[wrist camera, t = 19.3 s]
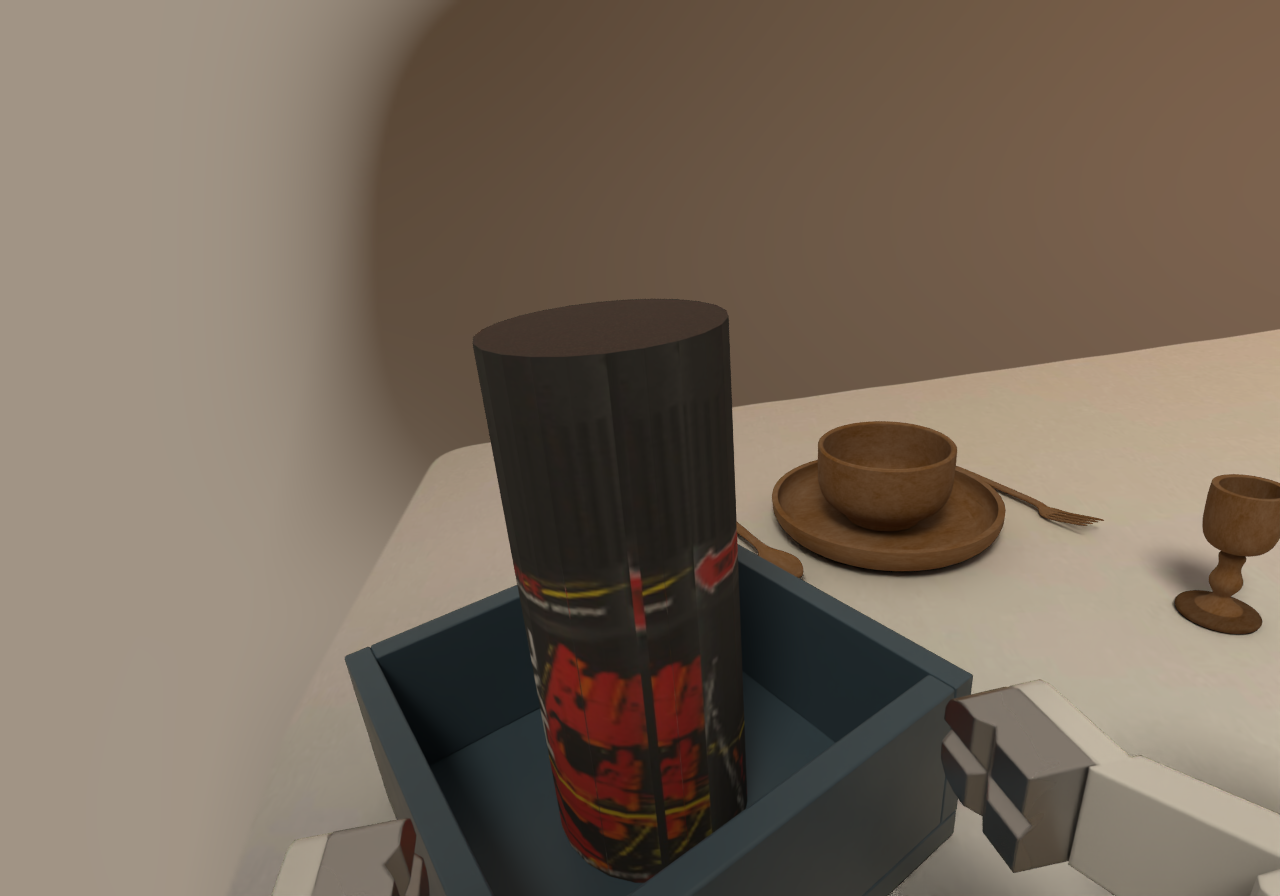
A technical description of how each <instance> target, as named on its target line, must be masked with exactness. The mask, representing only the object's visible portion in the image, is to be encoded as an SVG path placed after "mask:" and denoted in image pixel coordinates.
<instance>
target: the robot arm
mask: <svg viewBox="0 0 1280 896" xmlns="http://www.w3.org/2000/svg"><path fill="white" fill-rule="evenodd" d="M944 720H945V721H946V722H947V723H948V725H949V726H950V727H951V728H952V729H951V730H950V731H949V733H948V734H947V735H946V736H945V738H944V739H943V740H942V745H941V761H942V765H943V769H944V772H945V776H946V778H947V780H948V782H949V784H950V786H951V788H952V790H953V792H954V793H955V795H956V796H957V797H958V799H959V800H960V802H961V803H962V804H963V806H965V807H967V808H968V809H970V810H972V811H974V812H976V813H977V814H979V815H981V816H983V833H984V834H985V836H986V837H987V838H988V840H989V841H990V842H991V844H992V845H993V846H994V848H995V849H996V850H997V852H998V853H999V854H1000V856H1001V857H1002V858H1003V860H1004V861H1005V862H1006V864H1007V865H1008V866H1009V868H1010V869H1011V870H1012V872H1013V873H1016V872H1021V871H1025V870H1030V869H1034V868H1039V867H1043V866H1048V865H1052V864H1057V863H1061V862H1066V861H1069V863H1068V865H1070V866H1071V867H1073V868H1074V869H1076V870H1077V871H1079V872H1080V873H1082V874H1083V875H1085V876H1086V877H1088V878H1089V879H1091V880H1092V881H1094V882H1095V883H1097V884H1098V885H1100V886H1101V887H1103V888H1104V889H1106V890H1107V891H1109V892H1110V893H1112V894H1113V895H1115V896H1280V814H1278V813H1275V812H1273V811H1271V810H1268V809H1266V808H1264V807H1261V806H1259V805H1257V804H1254V803H1252V802H1249V801H1247V800H1245V799H1242V798H1240V797H1238V796H1235V795H1233V794H1231V793H1228V792H1226V791H1223V790H1221V789H1219V788H1216V787H1214V786H1212V785H1209V784H1207V783H1205V782H1202V781H1200V780H1197V779H1195V778H1193V777H1190V776H1188V775H1186V774H1183V773H1181V772H1179V771H1176V770H1174V769H1172V768H1169V767H1167V766H1164V765H1162V764H1160V763H1157V762H1155V761H1153V760H1150V759H1148V758H1146V757H1143V756H1141V755H1139V756H1134V757H1130V756H1129V755H1128V754H1127V753H1126V752H1125V751H1124V750H1123V749H1122V748H1120V747H1119V746H1118V745H1117V744H1116V743H1115V742H1114V741H1113V740H1112V739H1110V738H1109V737H1108V736H1107V735H1106V734H1105V733H1104V732H1103V731H1102V730H1101V729H1099V728H1098V727H1097V726H1096V725H1095V724H1094V723H1093V722H1092V721H1091V720H1089V719H1088V718H1087V717H1086V716H1085V715H1084V714H1083V713H1082V712H1081V711H1080V710H1078V709H1077V708H1076V707H1075V706H1074V705H1073V704H1072V703H1071V702H1070V701H1068V700H1067V699H1066V698H1065V697H1064V696H1063V695H1062V694H1061V693H1060V692H1058V691H1057V690H1056V689H1055V688H1054V687H1053V686H1052V685H1051V684H1049V683H1047V682H1045V681H1043V680H1040V679H1039V680H1035V681H1030V682H1026V683H1021V684H1017V685H1012V686H1009V687H1002V688H998V689H993V690H989V691H985V692H980V693H976V694H972V695H967V696H963V697H959V698H954V699H951V700H950V701H949V702H948V704H947V705H946V708H945V716H944ZM416 836H417V835H416V832H415V829H414V826H413V823H412V821H411V819H409V818H404V819H399V820H393V821H388V822H383V823H378V824H372V825H367V826H362V827H356V828H351V829H346V830H341V831H335V832H333V833H328V834H322V835H317V836H312V837H307V838H302V839H297V840H294V842H293V843H292V845H291V846H290V847H289V849H288V850H287V852H286V854H285V857H284V859H283V862H282V865H281V868H280V871H279V874H278V877H277V880H276V883H275V886H274V889H273V892H272V895H271V896H430V893H429V881H428V875H427V869H426V866H425V862H424V858H422V857H421V856H419V855H418V854H416V853H414V852H415V844H416Z"/></svg>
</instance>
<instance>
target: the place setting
mask: <svg viewBox="0 0 1280 896" xmlns="http://www.w3.org/2000/svg"><path fill="white" fill-rule="evenodd" d="M956 457H957V447H956V445H955V443H954V442H953V441H952V440H951V439H950V438H948V437H947V436H946V435H944V434H942V433H940V432H938V431H935V430H933V429H930V428H927V427H923V426H919V425H914V424H908V423H900V422H885V421H875V422H861V423H854V424H848V425H844V426H840V427H837V428H835V429H832V430H830V431H829V432H827V433H826V434H824V435H823V436H822V437H821V438H820V440H819V442H818V460H816V461H812V462H809V463H806V464H803V465H801V466H799V467H797V468H794V469H793V470H791V471H789V472H788V473H786V474H785V475H784V476H783V477H781V478H780V479H779V481H778V482H777V483H776V485H775V487H774V489H773V493H772V502H773V510H774V513H775V515H776V518H777V520H778V522H779V523H780V525H781V526H782V528H783V529H784V530H785V531H786V532H787V533H788V534H789V535H790V536H791V537H792V538H793V539H794V540H795V541H797V542H798V543H800V544H801V545H802V546H804V547H806V548H807V549H809V550H811V551H813V552H815V553H817V554H819V555H821V556H824V557H826V558H829V559H832V560H835V561H837V562H841V563H845V564H848V565H852V566H857V567H862V568H868V569H876V570H886V571H918V570H929V569H935V568H941V567H945V566H949V565H953V564H957V563H959V562H962V561H965V560H967V559H970V558H971V557H973V556H975V555H977V554H979V553H981V552H982V551H983V550H985V549H986V548H987V547H989V546H990V545H991V544H992V542H993V541H994V540H995V539H996V538H997V537H998V535H999V533H1000V531H1001V529H1002V527H1003V524H1004V518H1005V505H1004V502H1003V500H1002V498H1001V496H1000V495H999V494H998V493H997V492H996V490H995V489H993V488H996V489H998V490H1000V491H1003V492H1005V493H1007V494H1010V495H1012V496H1014V497H1017V498H1019V499H1021V500H1024V501H1026V502H1028V503H1031V504H1032V505H1034V506H1036V507H1037V508H1038V510H1039V513H1040V515H1041V516H1043V517H1045V518H1047V519H1051V520H1055V521H1059V522H1065V523H1070V524H1076V525H1083V526H1088V525H1086V524H1093V523H1090V522H1098V521H1095V520H1101V521H1104V520H1103V519H1099V518H1094V517H1089V516H1084V515H1079V514H1074V513H1069V512H1065V511H1062V510H1059V509H1055V508H1051V507H1048V506H1046V505H1045V504H1043V503H1042V502H1040V501H1038V500H1036V499H1034V498H1031V497H1029V496H1027V495H1024V494H1022V493H1020V492H1017V491H1015V490H1013V489H1010V488H1008V487H1006V486H1004V485H1001V484H999V483H997V482H994V481H992V480H990V479H987V478H985V477H983V476H980V475H978V474H975V473H973V472H971V471H968V470H966V469H963V468H961V467H958V466H956ZM992 487H993V488H992ZM1061 513H1062V514H1061ZM1054 514H1055V515H1054ZM1065 514H1066V515H1065ZM1057 515H1058V516H1057ZM1050 516H1051V517H1050ZM1054 517H1055V518H1054ZM1058 518H1059V519H1058ZM1091 519H1092V520H1091ZM1082 520H1083V521H1082ZM1073 521H1074V522H1073ZM1087 521H1089V522H1087ZM736 522H737V521H736ZM1078 522H1079V523H1078ZM1082 523H1086V524H1082ZM737 533H738V534H739V535H741V536H742V537H743V538H745V539H746V540H747V541H749V542H750V543H751V544H752V545H753V546H754V547H755V548H756V549H757V550H758V556H760V557H762V558H764V559H765V560H767V561H769V562H771V563H772V564H774V565H776V566H778V567H780V568H781V569H783V570H785V571H787V572H789V573H790V574H792V575H794V576H796V577H798V578H800V577H801V576H802V575H803V566H802V563H801V562H800V560H799V559H798V558H797V557H795V556H793V555H792V554H789V553H787V552H784V551H780V550H777V549H773V548H771V547H769V546H767V545H765V544H764V543H762V542H761V541H760V540H758V539H757V538H756V537H755V536H753V535H752V534H751V533H750V532H749V531H747V530H746V529H745V528H744V527H743V526H741V525H740V524H739V523H738V522H737ZM1203 533H1204V536H1205V538H1206V539H1207V541H1208V542H1209V543H1210V544H1211V545H1212V546H1214V547H1215V548H1217V549H1219V550H1221V551H1220V552H1219V563H1218V565H1217V567H1216V568H1215V569H1214V570H1213V571H1212V572H1211V573H1210V575H1209V584H1210V586H1211V588H1212V590H1213V592H1210V591H1201V590H1193V591H1186V592H1183V593H1181V594H1179V595H1178V596H1177V597H1176V598H1175V606H1176V608H1177V610H1178V611H1179V612H1180V613H1181V614H1182V615H1183V616H1184V617H1186V618H1187V619H1189V620H1190V621H1192V622H1194V623H1196V624H1198V625H1200V626H1203V627H1205V628H1208V629H1211V630H1215V631H1219V632H1224V633H1230V634H1247V633H1252V632H1255V631H1257V630H1258V629H1259V628H1260V627H1261V625H1262V618H1261V616H1260V615H1259V613H1258V612H1257V611H1256V610H1255V609H1253V608H1252V607H1251V606H1249V605H1247V604H1246V603H1244V602H1242V601H1240V600H1238V599H1235V598H1233V597H1231V596H1232V595H1234V594H1235V593H1237V592H1238V591H1239V590H1240V589H1241V588H1242V586H1243V578H1242V574H1241V569H1242V566H1243V565H1244V563H1245V562H1246V557H1245V556H1258V555H1262V554H1264V553H1266V552H1268V551H1270V550H1271V549H1272V548H1273V547H1274V546H1275V545H1276V543H1277V542H1278V540H1279V539H1280V483H1278V482H1275V481H1272V480H1269V479H1265V478H1260V477H1255V476H1249V475H1238V474H1229V475H1221V476H1217V477H1215V478H1214V479H1213V480H1212V483H1211V485H1210V489H1209V492H1208V495H1207V500H1206V504H1205V509H1204V514H1203Z"/></svg>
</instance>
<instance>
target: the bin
mask: <svg viewBox="0 0 1280 896" xmlns="http://www.w3.org/2000/svg"><path fill="white" fill-rule="evenodd" d="M737 547H738V573H739V598H740V624H741V649H742V675H743V701H744V726H745V752H746V777H747V805H746V809H745V810H743V811H742V812H741V813H739V814H738V815H736V816H735V817H734V818H732V819H731V820H730V821H728V822H727V823H726V824H724V825H723V826H721V827H720V828H719V829H717V830H716V831H715V832H713V833H712V834H711V835H709V836H708V837H706V838H705V839H704V840H702V841H701V842H700V843H698V844H697V845H696V846H694V847H693V848H691V849H690V850H689V851H687V852H686V853H685V854H683V855H682V856H681V857H679V858H678V859H676V860H675V861H674V862H672V863H671V864H670V865H668V866H667V867H665V868H664V869H663V870H661V871H660V872H659V873H657V874H656V875H655V876H653V877H652V878H650V879H649V880H648V881H646V882H645V883H634V882H630V881H626V880H622V879H618V878H614V877H610V876H608V875H607V874H605V873H603V872H601V871H600V870H598V869H596V868H594V867H593V866H591V865H589V864H588V863H587V862H586V861H585V860H584V859H583V858H582V857H581V856H580V855H579V854H578V853H577V852H576V851H575V849H574V848H573V847H572V846H571V844H570V842H569V840H568V838H567V835H566V833H565V831H564V829H563V827H562V823H561V817H560V812H559V807H558V801H557V796H556V790H555V785H554V780H553V774H552V769H551V763H550V758H549V753H548V747H547V742H546V736H545V731H544V726H543V720H542V715H541V710H540V704H539V699H538V693H537V688H536V683H535V677H534V672H533V666H532V661H531V656H530V650H529V645H528V639H527V634H526V629H525V623H524V618H523V612H522V607H521V602H520V596H519V591H518V586H517V585H515V586H513V587H511V588H508V589H506V590H503V591H501V592H499V593H496V594H494V595H491V596H489V597H487V598H484V599H482V600H479V601H477V602H475V603H472V604H470V605H467V606H465V607H463V608H460V609H458V610H455V611H453V612H451V613H448V614H446V615H443V616H441V617H439V618H436V619H434V620H431V621H429V622H427V623H424V624H422V625H419V626H417V627H415V628H412V629H410V630H407V631H405V632H403V633H400V634H398V635H395V636H393V637H391V638H388V639H386V640H383V641H381V642H379V643H376V644H374V645H372V646H371V648H370V647H366V648H364V649H362V650H359V651H357V652H354V653H352V654H349V655H347V656H346V657H345V662H346V665H347V668H348V671H349V674H350V678H351V681H352V684H353V687H354V690H355V694H356V697H357V700H358V703H359V706H360V710H361V713H362V716H363V719H364V722H365V726H366V729H367V732H368V735H369V738H370V742H371V745H372V748H373V751H374V754H375V758H376V761H377V764H378V767H379V770H380V773H381V776H382V780H383V783H384V786H385V789H386V793H387V796H388V798H389V801H390V803H391V806H392V808H393V811H394V813H395V816H396V818H397V820H399V819H404V818H409V819H411V821H412V823H413V826H414V829H415V832H416V835H417V836H416V844H415V852H414V853H416V854H418V855H419V856H421V857H422V858H424V862H425V866H426V869H427V875H428V881H429V893H430V896H887V895H888V894H890V893H891V892H892V891H893V890H894V889H895V888H896V887H897V886H898V885H899V884H900V883H901V882H902V881H903V880H904V879H905V878H906V877H907V876H908V875H909V874H911V873H912V872H913V871H914V870H915V869H916V868H917V867H918V866H919V865H920V864H921V863H922V862H923V861H924V860H925V859H926V858H927V857H928V856H929V855H930V854H931V853H933V852H934V851H935V850H936V849H937V848H938V847H939V846H940V845H941V844H942V843H943V842H944V841H945V840H946V839H947V838H948V837H949V836H950V835H951V834H952V833H953V831H954V822H955V814H956V809H957V801H958V797H957V796H956V795H955V793H954V792H953V790H952V788H951V786H950V784H949V782H948V780H947V778H946V776H945V772H944V769H943V765H942V761H941V745H942V740H943V739H944V738H945V736H946V735H947V734H948V733H949V731H950V730H951V729H952V728H951V727H950V726H949V725H948V723H947V722H946V721H945V720H944V716H945V708H946V705H947V704H948V702H949V701H950V700H951V699H954V698H959V697H963V696H967V695H971V688H972V680H973V675H972V674H970V673H968V672H966V671H965V670H963V669H961V668H959V667H957V666H956V665H954V664H952V663H950V662H948V661H947V660H945V659H943V658H941V657H939V656H938V655H936V654H934V653H932V652H931V651H929V650H927V649H925V648H923V647H922V646H920V645H918V644H916V643H914V642H913V641H911V640H909V639H907V638H905V637H904V636H902V635H900V634H898V633H896V632H895V631H893V630H891V629H889V628H887V627H886V626H884V625H882V624H880V623H878V622H877V621H875V620H873V619H871V618H869V617H868V616H866V615H864V614H862V613H860V612H859V611H857V610H855V609H853V608H851V607H850V606H848V605H846V604H844V603H843V602H841V601H839V600H837V599H835V598H834V597H832V596H830V595H828V594H826V593H825V592H823V591H821V590H819V589H817V588H816V587H814V586H812V585H810V584H808V583H807V582H805V581H803V580H801V579H799V578H798V577H796V576H794V575H792V574H790V573H789V572H787V571H785V570H783V569H781V568H780V567H778V566H776V565H774V564H772V563H771V562H769V561H767V560H765V559H764V558H762V557H760V556H758V555H756V554H755V553H753V552H751V551H749V550H747V549H746V548H744V547H742V546H740V545H738V544H737Z"/></svg>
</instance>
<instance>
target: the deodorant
mask: <svg viewBox="0 0 1280 896" xmlns="http://www.w3.org/2000/svg"><path fill="white" fill-rule="evenodd" d="M473 348H474V353H475V359H476V364H477V370H478V375H479V380H480V386H481V392H482V396H483V402H484V407H485V413H486V418H487V424H488V429H489V435H490V440H491V445H492V451H493V456H494V462H495V467H496V472H497V478H498V483H499V489H500V494H501V499H502V505H503V510H504V515H505V521H506V526H507V532H508V537H509V542H510V548H511V553H512V559H513V564H514V569H515V575H516V580H517V586H518V591H519V596H520V602H521V607H522V612H523V618H524V623H525V629H526V634H527V639H528V645H529V650H530V656H531V661H532V666H533V672H534V677H535V683H536V688H537V693H538V699H539V704H540V710H541V715H542V720H543V726H544V731H545V736H546V742H547V747H548V753H549V758H550V763H551V769H552V774H553V780H554V785H555V790H556V796H557V801H558V807H559V812H560V817H561V823H562V827H563V829H564V831H565V833H566V835H567V838H568V840H569V842H570V844H571V846H572V847H573V848H574V849H575V851H576V852H577V853H578V854H579V855H580V856H581V857H582V858H583V859H584V860H585V861H586V862H587V863H588V864H589V865H591V866H593V867H594V868H596V869H598V870H600V871H601V872H603V873H605V874H607V875H608V876H610V877H614V878H618V879H622V880H626V881H630V882H634V883H645V882H646V881H648V880H649V879H650V878H652V877H653V876H655V875H656V874H657V873H659V872H660V871H661V870H663V869H664V868H665V867H667V866H668V865H670V864H671V863H672V862H674V861H675V860H676V859H678V858H679V857H681V856H682V855H683V854H685V853H686V852H687V851H689V850H690V849H691V848H693V847H694V846H696V845H697V844H698V843H700V842H701V841H702V840H704V839H705V838H706V837H708V836H709V835H711V834H712V833H713V832H715V831H716V830H717V829H719V828H720V827H721V826H723V825H724V824H726V823H727V822H728V821H730V820H731V819H732V818H734V817H735V816H736V815H738V814H739V813H741V812H742V811H743V810H745V809H746V805H747V777H746V752H745V726H744V701H743V675H742V649H741V624H740V598H739V573H738V547H737V522H736V496H735V471H734V445H733V420H732V397H731V396H732V395H731V370H730V344H729V319H728V314H727V311H726V310H725V309H723V308H721V307H719V306H717V305H714V304H709V303H704V302H699V301H690V300H679V299H635V300H619V301H618V300H617V301H606V302H596V303H587V304H579V305H571V306H565V307H560V308H554V309H548V310H543V311H538V312H534V313H529V314H525V315H521V316H517V317H514V318H511V319H507V320H504V321H501V322H498V323H496V324H494V325H492V326H489V327H487V328H485V329H482V330H481V331H480V332H479V333H477V334H476V335H475V336H474V337H473Z"/></svg>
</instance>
